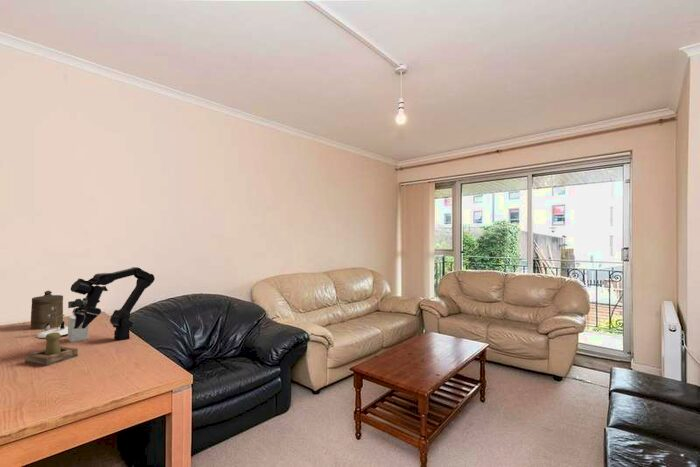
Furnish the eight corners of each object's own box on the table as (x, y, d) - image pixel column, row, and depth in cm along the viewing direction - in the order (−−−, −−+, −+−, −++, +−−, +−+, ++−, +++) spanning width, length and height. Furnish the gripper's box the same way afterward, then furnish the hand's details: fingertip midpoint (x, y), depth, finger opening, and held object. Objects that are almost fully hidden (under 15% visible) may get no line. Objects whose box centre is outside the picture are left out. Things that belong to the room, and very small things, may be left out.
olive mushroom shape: (46, 360, 149) (46, 335, 149) (41, 357, 153) (42, 333, 153) (63, 356, 154) (63, 332, 154) (58, 353, 158) (59, 330, 158)
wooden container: (59, 321, 219) (60, 288, 219) (65, 325, 209) (65, 290, 210) (28, 326, 207) (29, 290, 207) (32, 330, 198) (33, 293, 198)
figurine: (87, 329, 199) (85, 302, 199) (53, 339, 181) (51, 309, 181) (63, 330, 204) (61, 303, 204) (27, 339, 186) (25, 310, 187)
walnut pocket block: (57, 353, 161) (57, 346, 161) (77, 356, 158) (77, 348, 158) (24, 363, 149) (25, 355, 149) (46, 366, 145) (46, 358, 145)
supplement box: (71, 342, 177) (71, 318, 178) (67, 339, 182) (67, 316, 182) (88, 339, 183) (88, 316, 183) (84, 336, 188) (84, 314, 188)
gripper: (67, 294, 170) (52, 325, 164) (82, 291, 160) (66, 325, 153) (92, 299, 178) (78, 329, 172) (107, 298, 168) (93, 329, 161)
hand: (79, 328), depth 164 cm, fingers open, 9 cm apart
